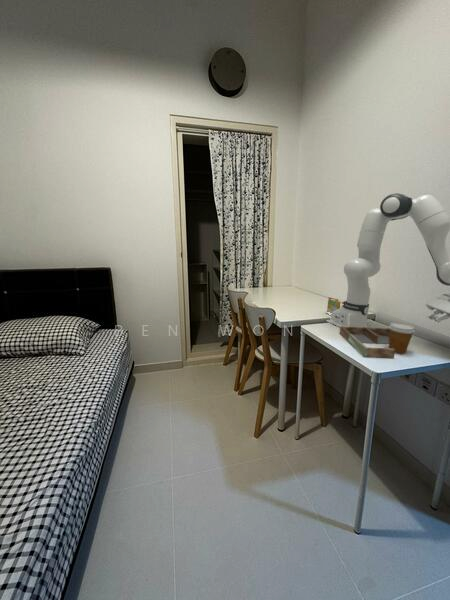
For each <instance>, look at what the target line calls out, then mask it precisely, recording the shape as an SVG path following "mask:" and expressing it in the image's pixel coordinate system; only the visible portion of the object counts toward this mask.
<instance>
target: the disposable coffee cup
mask: <svg viewBox="0 0 450 600" xmlns="http://www.w3.org/2000/svg"><path fill="white" fill-rule="evenodd" d="M388 328H389V329H390V334H389V344H388V348H393V349H395V354H400V355H404V354H405V353H407V349H408V347H409V344H410V342H411V339H412V337H413V334H414V333H415V327H414V326H412V325H409V324H407V323H402V322H392V323H390V325H388Z"/></svg>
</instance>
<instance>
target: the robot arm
mask: <svg viewBox="0 0 450 600" xmlns="http://www.w3.org/2000/svg"><path fill="white" fill-rule="evenodd" d="M408 217H410V218H411V219H412V221H413V222H414V224H415V225H416V227H417V229H418V231H419V232H420V235H421V236H422V238H423V240H424V243H425V246H426V248H427V250H428V252H429V255H430V256H431V259H432V261H433V263H434V265H435V269H436V271H435V272H436V279H437V280H438V282H439V283H440V284H442V285H444V286H449V287H450V252H449V249H448V248H447V246H446V239H447V236H448V234H449V232H450V216H449V214H448V213H447V211H446V209H445V207H444V206H443V205H442V204H441V203H440V201H439V200H438V199H437V198H436V197H435V196H434V195H432V194H423V195H420V196H418V197H416V198H412V197H410V196H409V195H407V194H403V193H396V192H395V193H391V194H389V195H387V196H386V197H384V198H383V199H382V200H381V202H380V205H379V207H378V208H377V207H376V208H372V209H370V210H368V211H367V212H366V215H365V217H364V219H363V222H362V225H361V228H360V232H359V235H358V239H357V244H356V247H357V249H358V257H353V258H352V259H350V260H348V261H347V262H346V263H345V264H344V267H343V273H344V274H345V276H346V280H347V295H346V300H344V301H342V302H341V305H342V306H340V308H339V309H337V310H335V311H333V312H332V314H331V315H330V317H331V318H330V317H329V318H330V320H325V321H326V322H327V323H329V324H331V325H333V324H334V325H333V326H335V325H336V327H339V328H340V326H345V327H368V314H369V307H370V304H369V302H370V296H371V288H370V286H369V285H370V284H369V278H371V277H373V276H375V275H377V274H378V273H379V271H380V270H381V262H380V259H381V258H380V256H381V255H380V254H381V247H382V242H383V240H384V235H385V232H386V229H387V226H388V223H389V222H390V221H396V220H397V221H398V220H402V219H406V218H408ZM425 306H426V307H427V309H429V310H430V311H431V313H430V314H429V315H427V318H428V319H430V320H432V321H434V322H437V323H440V322H442V321H445V320H447V319H450V293H443V294H439V295H436V296H434V297H433V298H431V299H429V300H428V301H427V302H426V303H425ZM439 314H440V315H439ZM438 315H439V316H438Z"/></svg>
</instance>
